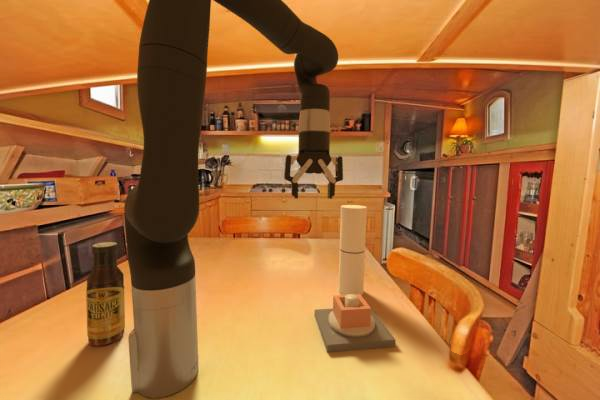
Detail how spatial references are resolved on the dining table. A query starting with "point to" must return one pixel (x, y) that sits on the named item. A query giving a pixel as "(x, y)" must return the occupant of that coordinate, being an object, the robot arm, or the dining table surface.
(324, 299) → the dining table surface
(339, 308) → the collar
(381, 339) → the post plate
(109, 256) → the sauce bottle
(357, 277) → the cylindrical container
